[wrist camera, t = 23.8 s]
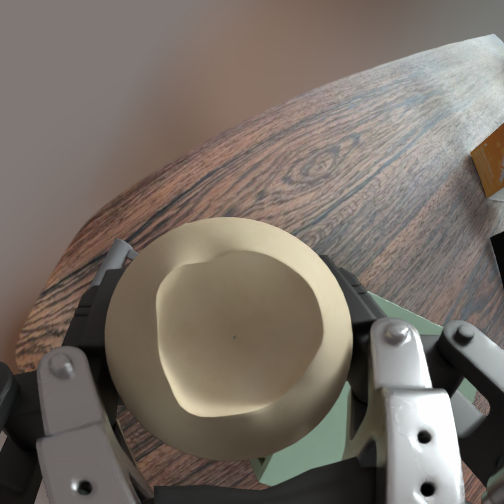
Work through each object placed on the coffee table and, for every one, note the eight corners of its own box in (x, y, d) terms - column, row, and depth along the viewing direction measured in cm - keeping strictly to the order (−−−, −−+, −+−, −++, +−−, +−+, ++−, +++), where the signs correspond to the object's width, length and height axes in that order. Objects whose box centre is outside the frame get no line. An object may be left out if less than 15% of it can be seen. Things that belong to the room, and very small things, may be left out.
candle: (227, 424, 13) (266, 532, 4) (138, 351, 14) (26, 342, 4) (297, 336, 15) (428, 303, 6) (210, 267, 16) (218, 137, 6)
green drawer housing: (239, 438, 22) (257, 482, 13) (298, 304, 27) (344, 279, 17) (371, 472, 22) (430, 505, 13) (417, 355, 26) (486, 348, 17)
